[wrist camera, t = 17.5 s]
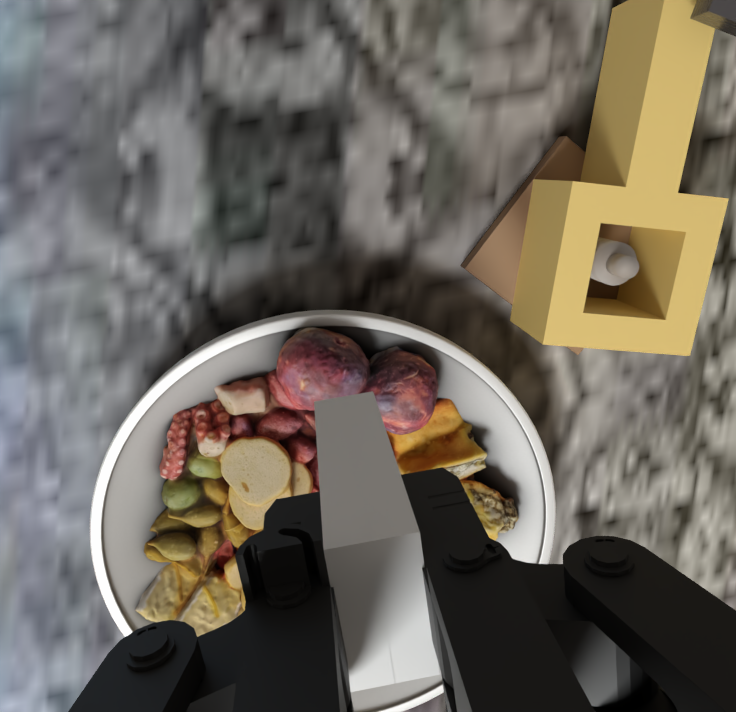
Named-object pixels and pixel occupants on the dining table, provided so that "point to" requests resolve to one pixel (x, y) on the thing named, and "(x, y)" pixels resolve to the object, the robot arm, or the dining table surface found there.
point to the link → (628, 197)
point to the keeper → (716, 14)
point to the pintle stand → (505, 236)
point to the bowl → (298, 460)
